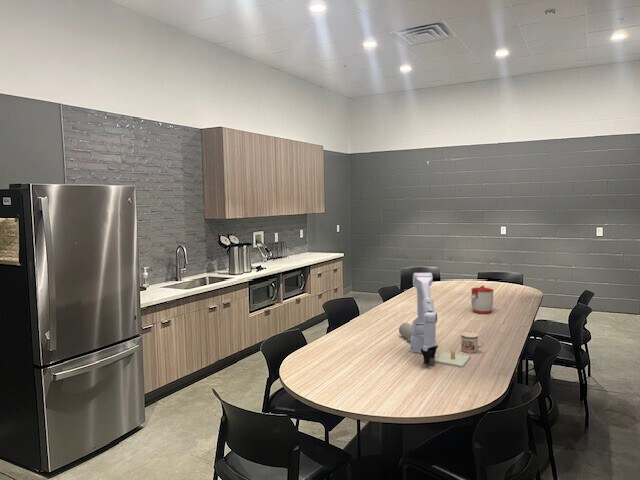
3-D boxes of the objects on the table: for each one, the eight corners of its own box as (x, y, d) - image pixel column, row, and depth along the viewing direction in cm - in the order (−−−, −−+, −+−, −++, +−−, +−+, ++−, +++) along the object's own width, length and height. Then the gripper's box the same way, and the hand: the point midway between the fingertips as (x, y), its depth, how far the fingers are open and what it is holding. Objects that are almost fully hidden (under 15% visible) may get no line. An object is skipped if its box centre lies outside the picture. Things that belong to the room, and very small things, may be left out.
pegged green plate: (434, 362, 243) (435, 352, 243) (444, 353, 257) (444, 343, 257) (462, 367, 236) (462, 356, 236) (470, 358, 250) (470, 347, 249)
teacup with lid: (458, 351, 260) (459, 331, 259) (462, 347, 268) (463, 327, 267) (481, 355, 254) (482, 334, 253) (484, 350, 262) (485, 329, 261)
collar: (422, 364, 241) (422, 356, 241) (425, 361, 246) (425, 353, 245) (433, 366, 238) (433, 358, 238) (436, 363, 243) (436, 355, 242)
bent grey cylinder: (397, 341, 275) (432, 343, 271) (397, 323, 277) (433, 325, 272) (399, 339, 292) (432, 341, 288) (399, 322, 294) (432, 323, 289)
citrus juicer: (464, 311, 350) (464, 284, 348) (482, 308, 357) (482, 282, 355) (479, 316, 336) (480, 288, 334) (497, 313, 343) (498, 286, 341)
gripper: (433, 339, 232) (432, 366, 233) (441, 332, 245) (441, 358, 246) (419, 337, 236) (418, 364, 237) (428, 330, 248) (428, 355, 249)
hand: (429, 360), depth 242 cm, fingers open, 7 cm apart
